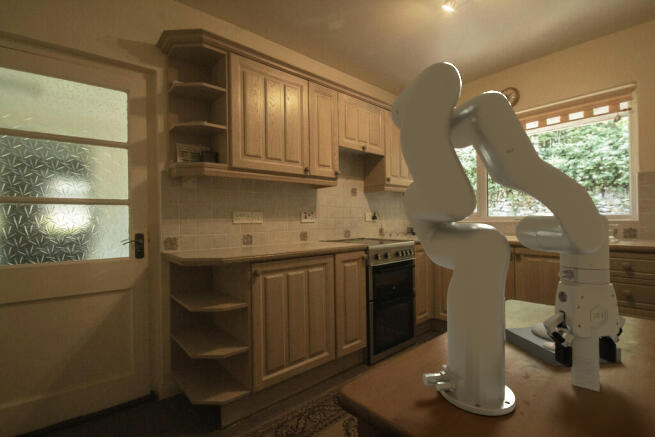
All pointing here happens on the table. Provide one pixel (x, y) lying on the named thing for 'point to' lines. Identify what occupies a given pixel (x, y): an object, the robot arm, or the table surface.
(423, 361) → the table surface
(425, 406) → the table surface
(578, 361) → the skincare box
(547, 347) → the kitchen scale
